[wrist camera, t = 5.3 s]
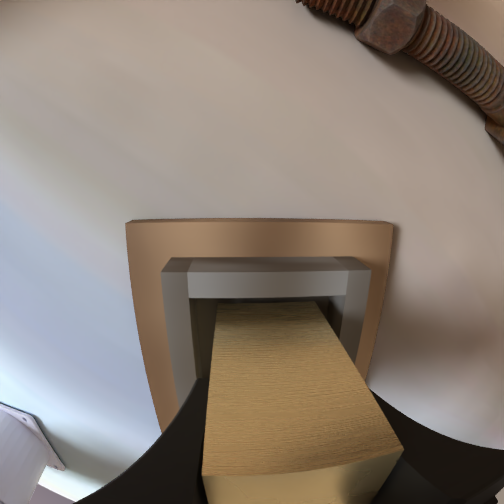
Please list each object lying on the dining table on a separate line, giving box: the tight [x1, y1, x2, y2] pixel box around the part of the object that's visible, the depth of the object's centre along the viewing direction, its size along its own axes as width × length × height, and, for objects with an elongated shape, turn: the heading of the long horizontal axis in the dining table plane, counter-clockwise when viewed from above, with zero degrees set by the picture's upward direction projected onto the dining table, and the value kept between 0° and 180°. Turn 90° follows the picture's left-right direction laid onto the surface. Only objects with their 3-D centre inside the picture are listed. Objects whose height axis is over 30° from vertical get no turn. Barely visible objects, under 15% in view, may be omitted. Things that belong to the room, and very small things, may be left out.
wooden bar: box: [202, 301, 404, 504], centre depth 9 cm, size 4×4×8 cm
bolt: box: [295, 0, 504, 146], centre depth 9 cm, size 6×5×15 cm
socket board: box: [125, 218, 394, 433], centre depth 15 cm, size 12×22×3 cm, turn 179°
